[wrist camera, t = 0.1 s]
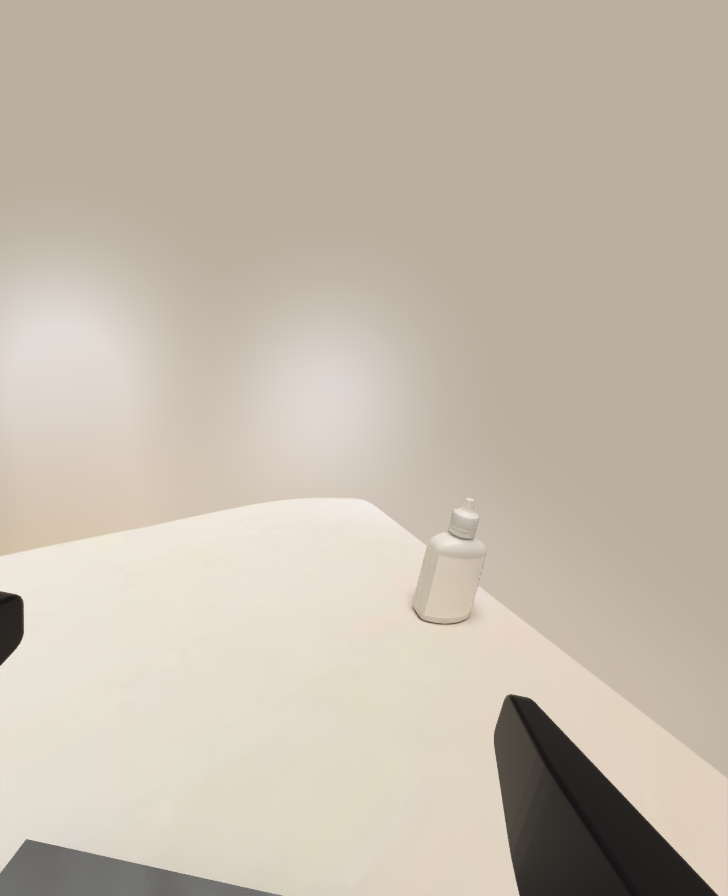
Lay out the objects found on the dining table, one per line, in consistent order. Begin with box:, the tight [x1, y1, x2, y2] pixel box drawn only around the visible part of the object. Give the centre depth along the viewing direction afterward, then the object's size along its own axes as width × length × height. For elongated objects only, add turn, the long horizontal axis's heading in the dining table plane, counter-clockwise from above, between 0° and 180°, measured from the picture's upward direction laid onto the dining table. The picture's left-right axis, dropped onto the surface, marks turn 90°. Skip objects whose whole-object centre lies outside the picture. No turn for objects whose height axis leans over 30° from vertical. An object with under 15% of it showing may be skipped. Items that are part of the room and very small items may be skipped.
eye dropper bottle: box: [413, 498, 486, 624], centre depth 36 cm, size 4×6×12 cm
